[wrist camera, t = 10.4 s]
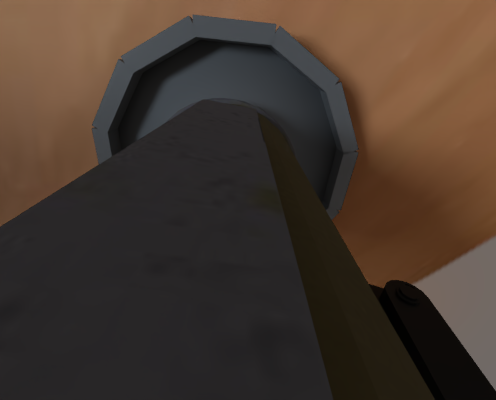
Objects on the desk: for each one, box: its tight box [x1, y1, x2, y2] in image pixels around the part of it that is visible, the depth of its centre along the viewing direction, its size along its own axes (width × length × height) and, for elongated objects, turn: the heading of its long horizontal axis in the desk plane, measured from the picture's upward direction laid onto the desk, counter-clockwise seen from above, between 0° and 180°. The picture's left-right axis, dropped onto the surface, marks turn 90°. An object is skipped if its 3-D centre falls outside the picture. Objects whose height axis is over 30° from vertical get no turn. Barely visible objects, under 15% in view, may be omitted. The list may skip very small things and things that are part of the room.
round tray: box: [92, 15, 359, 220], centre depth 19 cm, size 18×18×2 cm
